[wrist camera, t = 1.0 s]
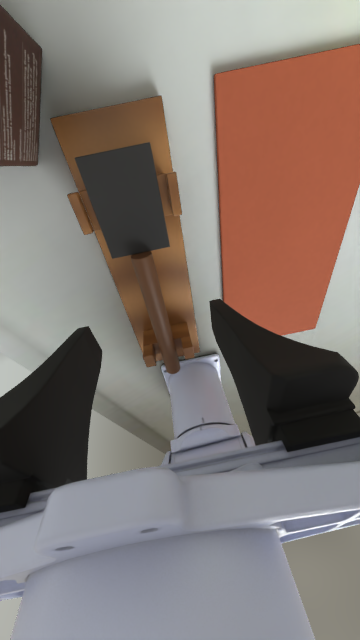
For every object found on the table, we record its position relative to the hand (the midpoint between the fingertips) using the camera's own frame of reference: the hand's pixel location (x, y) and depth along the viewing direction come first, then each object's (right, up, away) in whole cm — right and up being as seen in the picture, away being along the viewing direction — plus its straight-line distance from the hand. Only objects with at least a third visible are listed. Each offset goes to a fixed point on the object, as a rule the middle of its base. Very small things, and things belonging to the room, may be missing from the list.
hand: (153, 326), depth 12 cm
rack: (-1, +5, +8) cm, 9 cm away
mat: (+12, +8, +8) cm, 16 cm away
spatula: (-1, +3, +5) cm, 5 cm away
